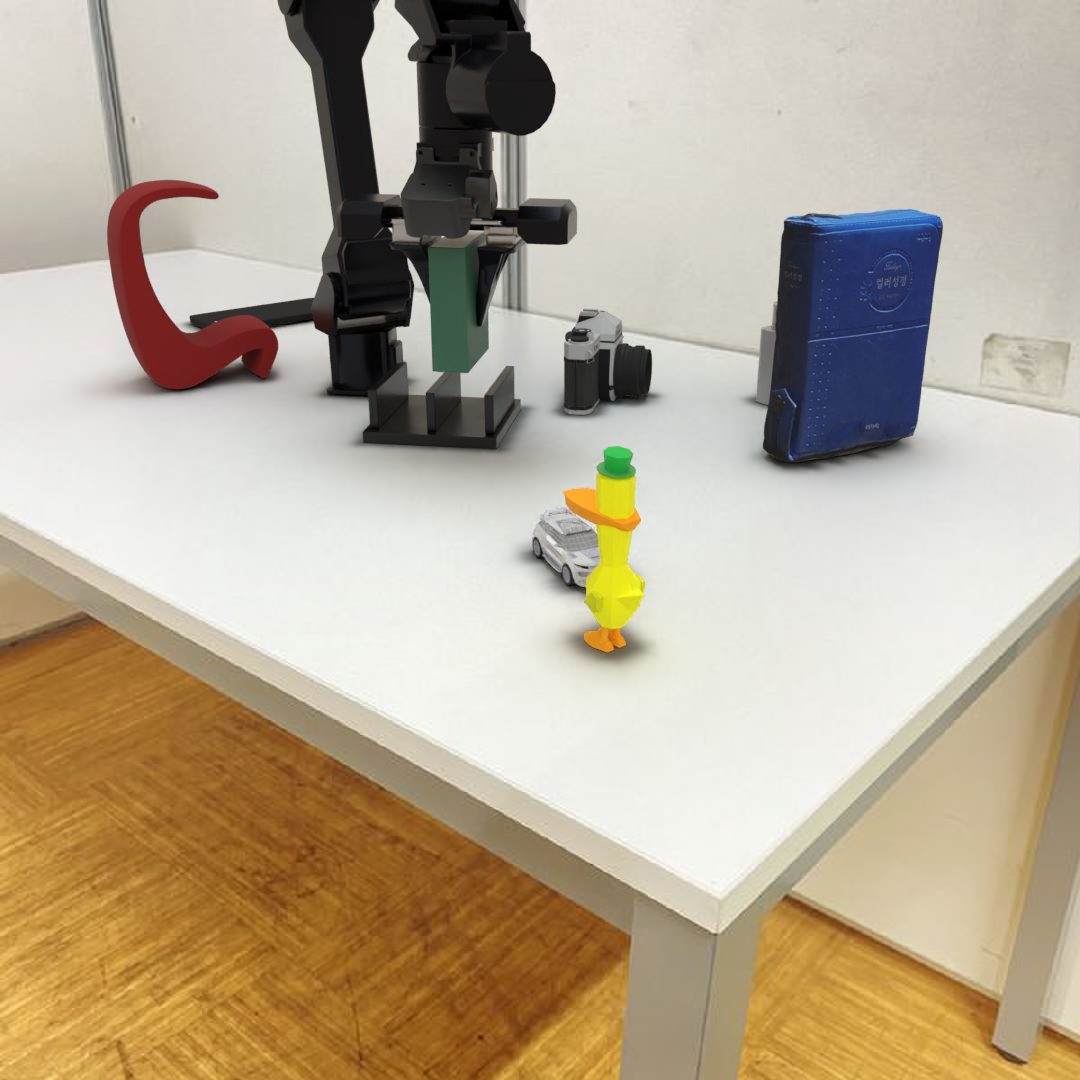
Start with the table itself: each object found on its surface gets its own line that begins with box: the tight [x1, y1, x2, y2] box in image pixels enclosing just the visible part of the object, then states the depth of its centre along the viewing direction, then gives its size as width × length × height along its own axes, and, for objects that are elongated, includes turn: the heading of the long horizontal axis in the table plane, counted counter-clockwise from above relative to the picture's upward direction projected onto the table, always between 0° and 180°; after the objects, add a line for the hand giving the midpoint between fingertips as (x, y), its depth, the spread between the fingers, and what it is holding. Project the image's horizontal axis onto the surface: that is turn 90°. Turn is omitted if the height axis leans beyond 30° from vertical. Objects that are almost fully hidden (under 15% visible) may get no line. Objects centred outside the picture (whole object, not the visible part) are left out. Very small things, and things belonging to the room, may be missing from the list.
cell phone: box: [189, 297, 314, 329], centre depth 145 cm, size 9×18×1 cm, turn 129°
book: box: [762, 208, 944, 463], centre depth 93 cm, size 14×5×20 cm, turn 118°
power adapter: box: [755, 300, 777, 406], centre depth 109 cm, size 3×5×12 cm, turn 128°
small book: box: [428, 230, 490, 374], centre depth 94 cm, size 3×8×10 cm, turn 170°
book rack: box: [362, 361, 522, 450], centre depth 103 cm, size 12×12×4 cm
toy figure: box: [561, 445, 646, 653], centre depth 64 cm, size 7×4×12 cm, turn 38°
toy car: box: [531, 506, 600, 588], centre depth 75 cm, size 4×8×3 cm, turn 24°
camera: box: [563, 308, 653, 416], centre depth 110 cm, size 13×8×9 cm, turn 169°
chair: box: [106, 179, 279, 390], centre depth 115 cm, size 15×7×20 cm, turn 118°
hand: (460, 324), depth 94 cm, fingers closed on small book, 3 cm apart
